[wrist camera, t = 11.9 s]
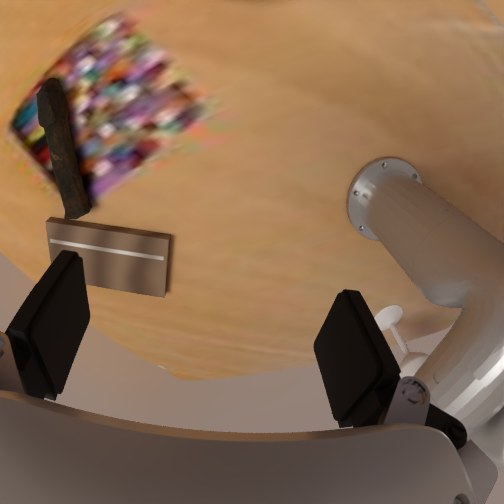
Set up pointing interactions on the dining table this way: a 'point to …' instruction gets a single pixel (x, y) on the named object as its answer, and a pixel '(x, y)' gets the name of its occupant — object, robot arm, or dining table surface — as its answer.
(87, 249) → the board
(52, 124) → the hand tool
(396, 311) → the champagne flute
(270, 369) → the dining table surface
